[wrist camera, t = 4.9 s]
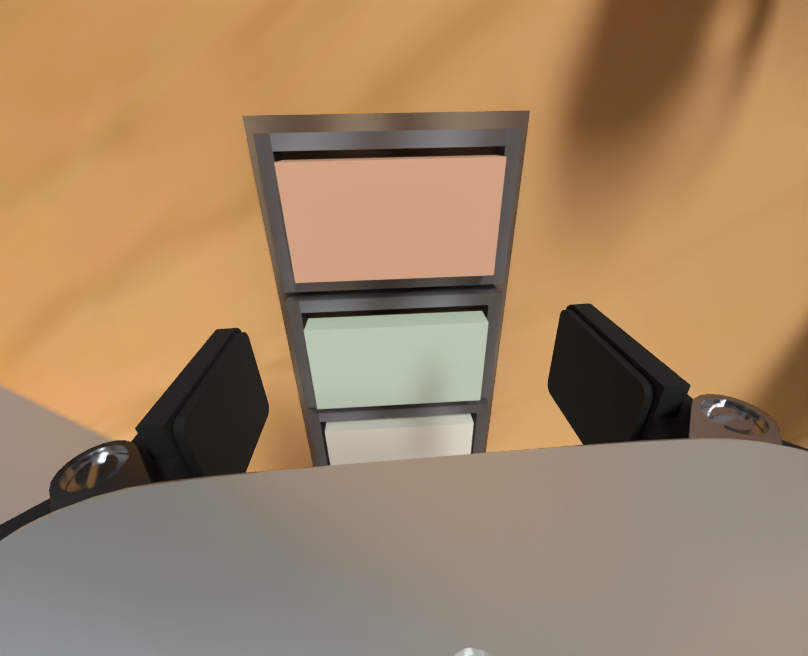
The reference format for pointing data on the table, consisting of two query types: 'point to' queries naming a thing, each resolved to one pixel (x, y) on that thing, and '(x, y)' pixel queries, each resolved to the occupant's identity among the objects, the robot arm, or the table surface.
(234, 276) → the table surface
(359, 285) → the dark grey tile board
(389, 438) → the cream tile
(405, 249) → the terracotta tile
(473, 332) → the sage tile
